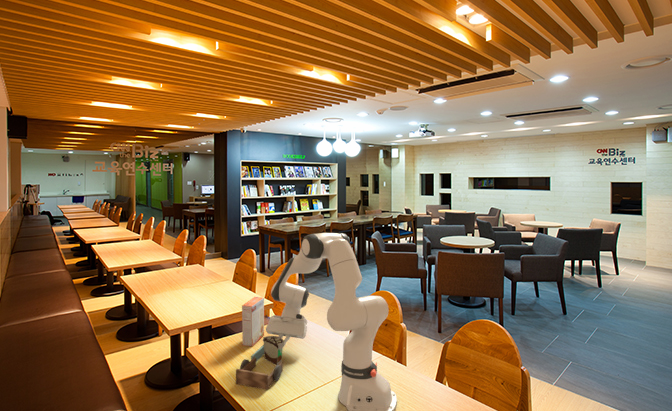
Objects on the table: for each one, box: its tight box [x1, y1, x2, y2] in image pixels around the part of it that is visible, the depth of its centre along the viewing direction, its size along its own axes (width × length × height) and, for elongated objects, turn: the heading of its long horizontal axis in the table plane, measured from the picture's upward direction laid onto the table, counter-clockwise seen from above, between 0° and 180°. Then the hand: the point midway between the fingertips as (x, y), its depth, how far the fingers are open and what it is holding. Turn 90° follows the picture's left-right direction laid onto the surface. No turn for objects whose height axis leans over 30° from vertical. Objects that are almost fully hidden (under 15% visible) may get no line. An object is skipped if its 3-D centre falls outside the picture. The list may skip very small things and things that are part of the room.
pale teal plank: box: [250, 344, 264, 363], centre depth 168 cm, size 14×1×4 cm, turn 164°
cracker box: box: [241, 296, 265, 347], centre depth 186 cm, size 14×6×21 cm, turn 166°
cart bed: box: [235, 357, 284, 391], centre depth 152 cm, size 16×15×6 cm
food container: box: [262, 335, 285, 366], centre depth 166 cm, size 12×6×10 cm, turn 47°
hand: (281, 344), depth 172 cm, fingers closed
